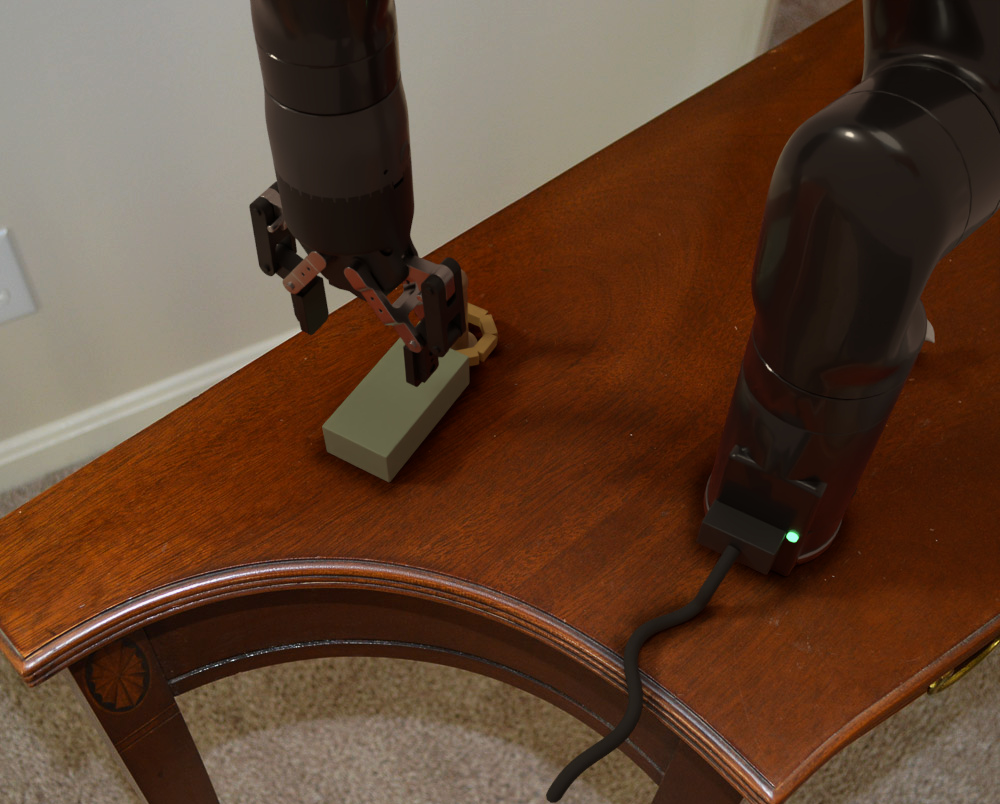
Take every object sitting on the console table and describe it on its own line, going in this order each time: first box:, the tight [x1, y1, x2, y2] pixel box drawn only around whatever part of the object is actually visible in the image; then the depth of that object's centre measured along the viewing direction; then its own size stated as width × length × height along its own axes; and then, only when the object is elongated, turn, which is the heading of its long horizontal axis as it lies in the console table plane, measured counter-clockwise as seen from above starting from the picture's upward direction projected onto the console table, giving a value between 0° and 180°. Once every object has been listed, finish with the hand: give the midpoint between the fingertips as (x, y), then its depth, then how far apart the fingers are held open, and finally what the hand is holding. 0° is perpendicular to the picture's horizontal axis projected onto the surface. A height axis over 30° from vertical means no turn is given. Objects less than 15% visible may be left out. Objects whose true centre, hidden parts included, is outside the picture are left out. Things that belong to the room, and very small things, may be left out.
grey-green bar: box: [321, 302, 499, 483], centre depth 81 cm, size 17×6×3 cm, turn 150°
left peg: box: [450, 269, 478, 351], centre depth 82 cm, size 3×3×8 cm
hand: (367, 351), depth 73 cm, fingers open, 8 cm apart
